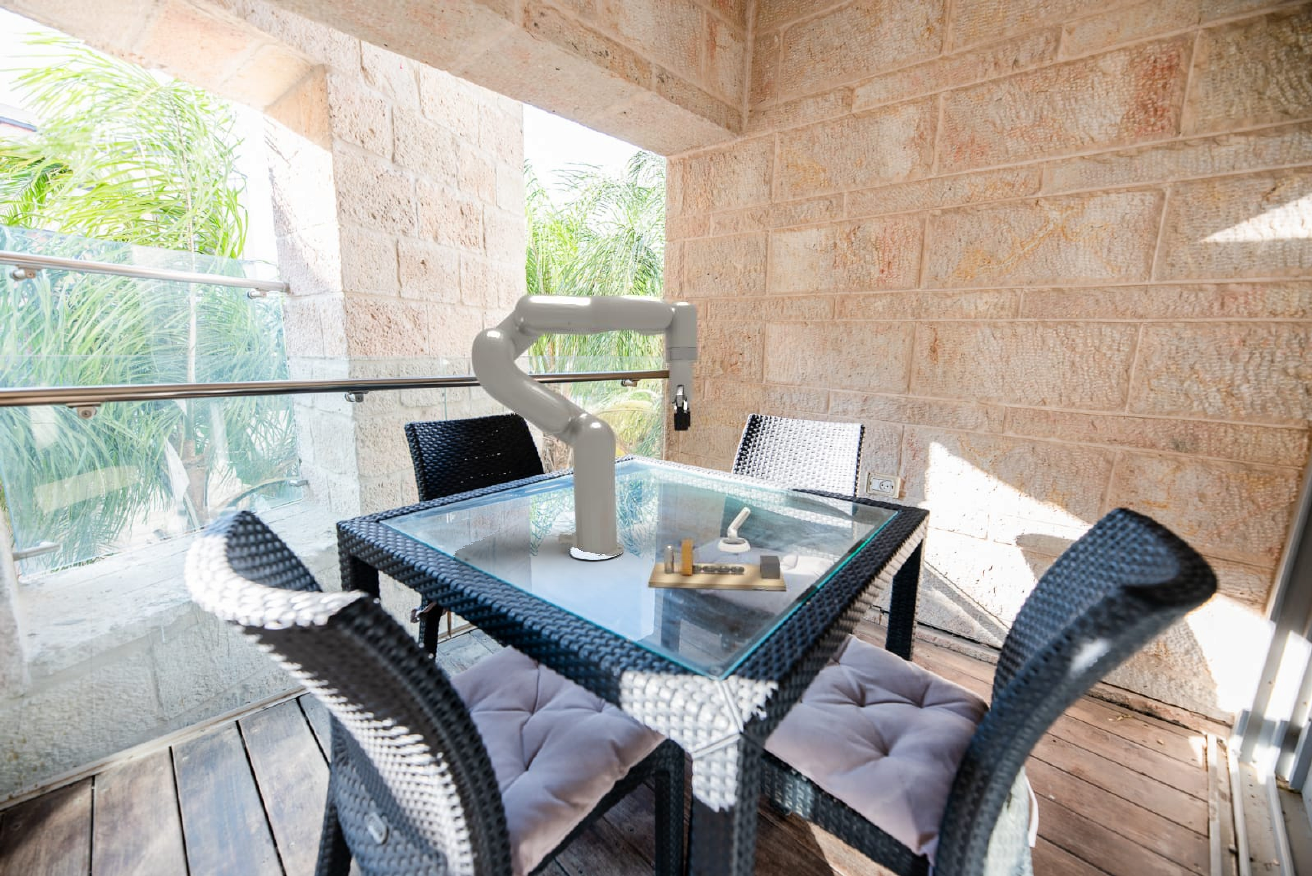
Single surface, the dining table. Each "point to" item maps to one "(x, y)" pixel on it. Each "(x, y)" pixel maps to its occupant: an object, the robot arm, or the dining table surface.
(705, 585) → the board
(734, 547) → the white ringed handle device
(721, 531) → the dining table surface
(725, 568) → the block with bead chain
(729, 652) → the dining table surface
